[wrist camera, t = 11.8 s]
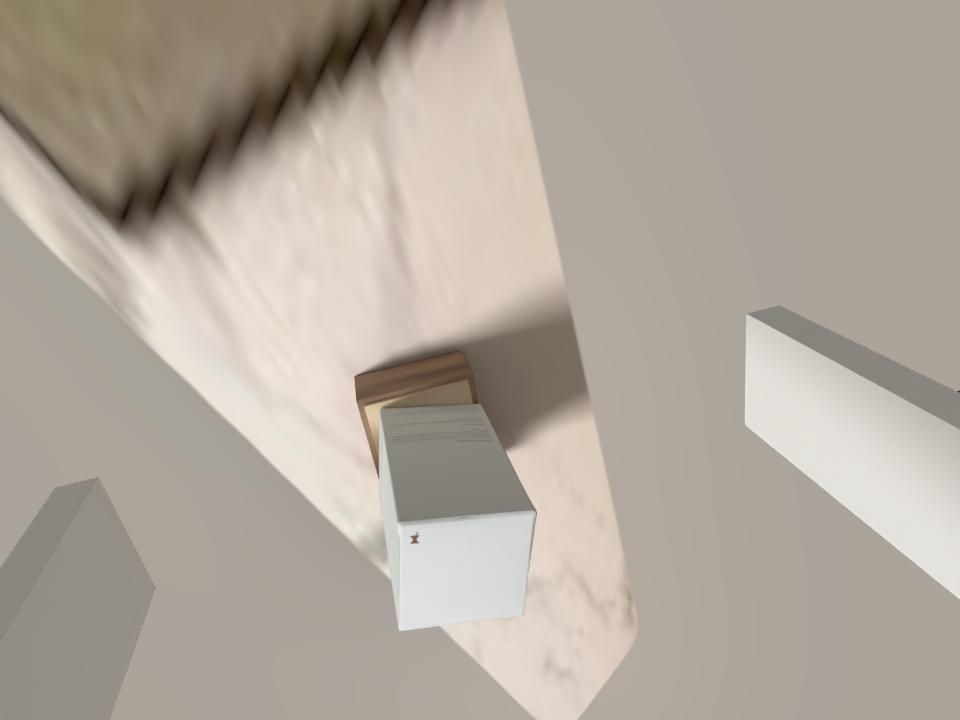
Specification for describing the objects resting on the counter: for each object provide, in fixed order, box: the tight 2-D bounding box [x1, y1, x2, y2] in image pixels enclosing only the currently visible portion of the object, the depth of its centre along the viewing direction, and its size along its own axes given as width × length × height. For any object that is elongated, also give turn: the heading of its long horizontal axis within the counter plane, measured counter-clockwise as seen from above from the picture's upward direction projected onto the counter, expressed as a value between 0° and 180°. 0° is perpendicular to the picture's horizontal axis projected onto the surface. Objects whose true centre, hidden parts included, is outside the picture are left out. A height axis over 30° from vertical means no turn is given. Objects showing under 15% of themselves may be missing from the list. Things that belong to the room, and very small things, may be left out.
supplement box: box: [379, 404, 537, 631], centre depth 39 cm, size 7×7×13 cm
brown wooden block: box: [354, 351, 478, 477], centre depth 46 cm, size 10×8×4 cm
